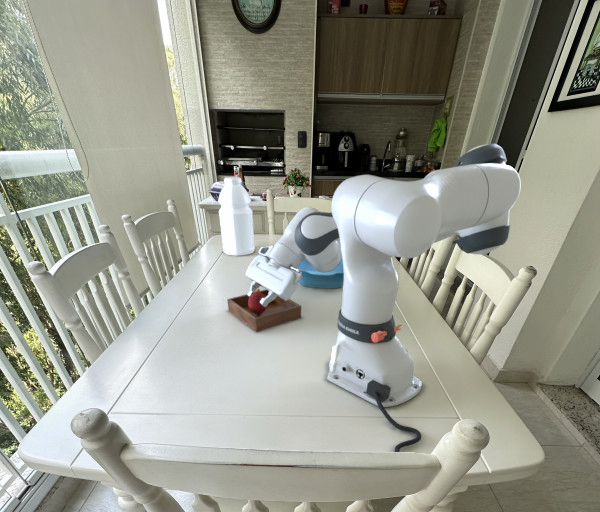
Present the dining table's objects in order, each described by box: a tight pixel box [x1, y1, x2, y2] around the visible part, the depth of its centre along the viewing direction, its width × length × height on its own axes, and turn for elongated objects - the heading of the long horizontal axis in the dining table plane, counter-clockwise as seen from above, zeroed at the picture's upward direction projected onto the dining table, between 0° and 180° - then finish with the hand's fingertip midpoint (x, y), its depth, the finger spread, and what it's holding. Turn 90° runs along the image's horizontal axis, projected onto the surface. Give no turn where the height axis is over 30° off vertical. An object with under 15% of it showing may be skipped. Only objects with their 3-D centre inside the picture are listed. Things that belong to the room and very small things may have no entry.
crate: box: [226, 289, 302, 333], centre depth 106 cm, size 17×16×4 cm
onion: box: [248, 288, 268, 315], centre depth 103 cm, size 6×6×8 cm
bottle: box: [217, 176, 256, 257], centre depth 148 cm, size 14×14×28 cm
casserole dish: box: [298, 245, 344, 289], centre depth 133 cm, size 37×22×7 cm, turn 175°
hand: (255, 301), depth 103 cm, fingers closed on onion, 5 cm apart
